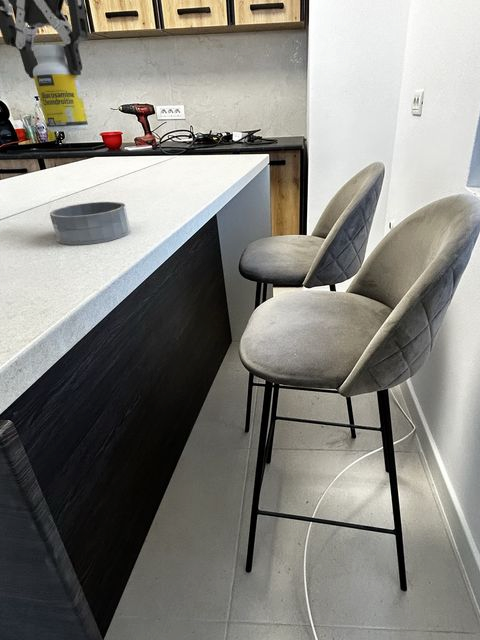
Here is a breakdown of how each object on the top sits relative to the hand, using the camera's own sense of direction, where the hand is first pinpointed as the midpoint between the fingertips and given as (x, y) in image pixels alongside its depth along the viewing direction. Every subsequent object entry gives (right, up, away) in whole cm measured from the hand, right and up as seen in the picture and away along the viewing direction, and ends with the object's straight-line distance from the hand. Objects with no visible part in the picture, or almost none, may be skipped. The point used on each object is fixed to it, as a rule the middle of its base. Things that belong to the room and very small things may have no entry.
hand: (55, 76), depth 68 cm
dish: (+3, -23, +7) cm, 25 cm away
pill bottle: (0, -7, +4) cm, 8 cm away
